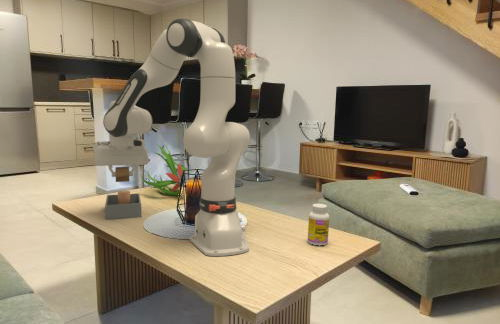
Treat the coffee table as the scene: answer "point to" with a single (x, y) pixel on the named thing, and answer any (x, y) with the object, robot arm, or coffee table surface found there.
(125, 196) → the terracotta cylinder
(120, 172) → the walnut cube
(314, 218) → the supplement bottle
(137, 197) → the tote
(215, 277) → the coffee table surface
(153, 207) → the coffee table surface
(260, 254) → the coffee table surface
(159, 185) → the decorative plant
